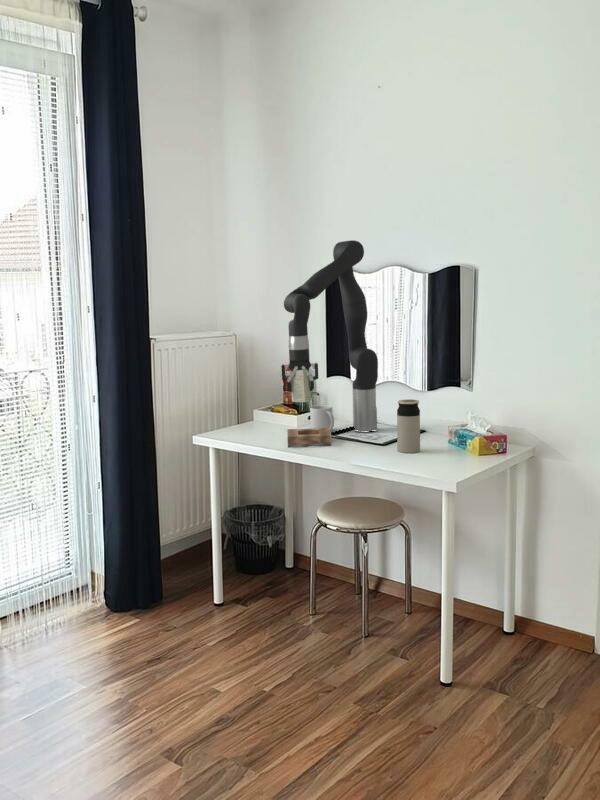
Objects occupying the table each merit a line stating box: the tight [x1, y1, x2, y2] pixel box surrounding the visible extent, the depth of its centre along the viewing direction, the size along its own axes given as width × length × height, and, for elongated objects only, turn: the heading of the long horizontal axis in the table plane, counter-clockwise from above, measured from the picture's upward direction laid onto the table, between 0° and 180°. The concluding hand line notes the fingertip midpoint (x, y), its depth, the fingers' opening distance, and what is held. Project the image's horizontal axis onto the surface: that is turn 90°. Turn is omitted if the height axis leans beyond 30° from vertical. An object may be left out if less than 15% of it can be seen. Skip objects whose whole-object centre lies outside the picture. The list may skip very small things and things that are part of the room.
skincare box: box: [289, 369, 312, 403], centre depth 302 cm, size 6×4×12 cm
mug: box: [309, 404, 335, 434], centre depth 321 cm, size 11×10×10 cm
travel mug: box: [396, 398, 421, 454], centre depth 283 cm, size 8×8×18 cm
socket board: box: [286, 428, 332, 448], centre depth 303 cm, size 16×14×4 cm
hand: (300, 391), depth 302 cm, fingers closed on skincare box, 7 cm apart
